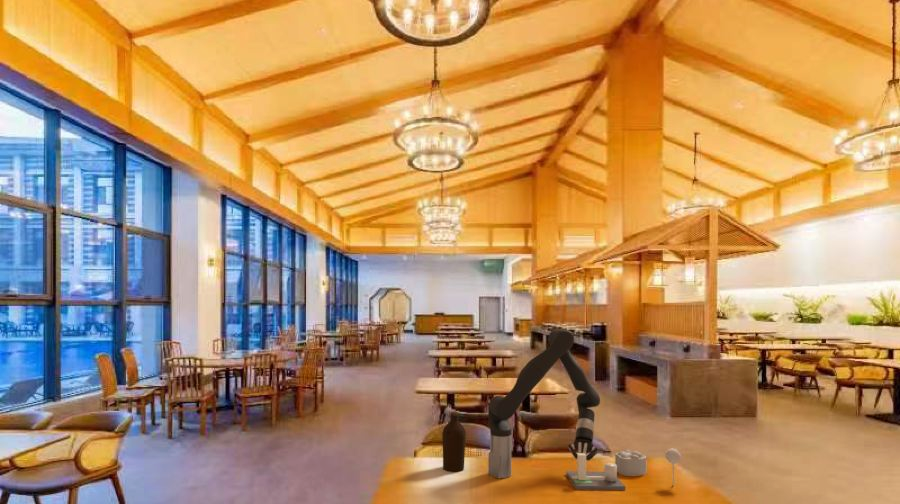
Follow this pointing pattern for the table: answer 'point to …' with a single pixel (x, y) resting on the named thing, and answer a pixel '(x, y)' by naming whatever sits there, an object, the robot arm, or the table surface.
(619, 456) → the lumpy-topped squat cylinder
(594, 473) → the board
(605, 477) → the beige u-shaped piece
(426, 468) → the table surface
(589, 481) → the green band
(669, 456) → the lollipop
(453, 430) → the olive oil
